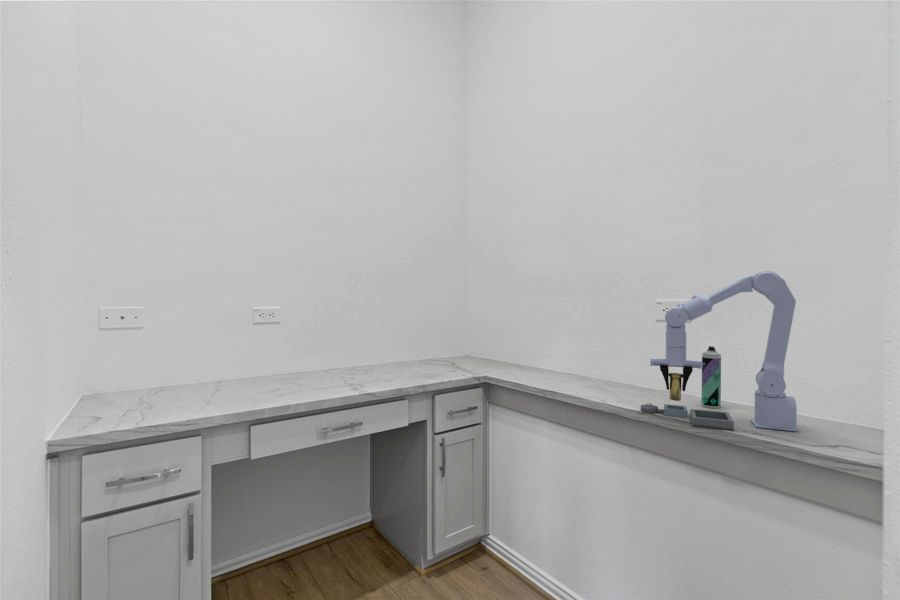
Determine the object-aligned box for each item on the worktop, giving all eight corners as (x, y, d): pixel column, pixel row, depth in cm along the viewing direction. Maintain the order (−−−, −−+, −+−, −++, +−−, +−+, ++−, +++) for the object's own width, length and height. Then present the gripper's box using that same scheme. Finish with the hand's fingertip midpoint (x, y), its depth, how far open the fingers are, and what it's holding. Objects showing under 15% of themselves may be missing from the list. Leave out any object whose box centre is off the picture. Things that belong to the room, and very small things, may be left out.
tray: (728, 420, 132) (728, 412, 132) (733, 430, 123) (733, 421, 123) (690, 416, 136) (690, 408, 136) (692, 426, 127) (692, 417, 127)
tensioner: (686, 412, 141) (686, 404, 141) (687, 417, 136) (687, 409, 136) (641, 407, 147) (641, 400, 147) (640, 412, 141) (640, 404, 141)
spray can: (703, 403, 152) (703, 345, 152) (721, 406, 149) (722, 346, 148) (700, 406, 148) (700, 346, 147) (719, 409, 144) (719, 348, 144)
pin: (682, 398, 141) (682, 373, 141) (682, 401, 137) (683, 375, 137) (667, 397, 142) (668, 372, 142) (668, 400, 139) (668, 374, 139)
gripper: (701, 346, 140) (701, 389, 140) (650, 344, 146) (650, 385, 146) (703, 349, 134) (703, 394, 134) (650, 346, 140) (650, 389, 140)
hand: (675, 389), depth 140 cm, fingers closed on pin, 4 cm apart
